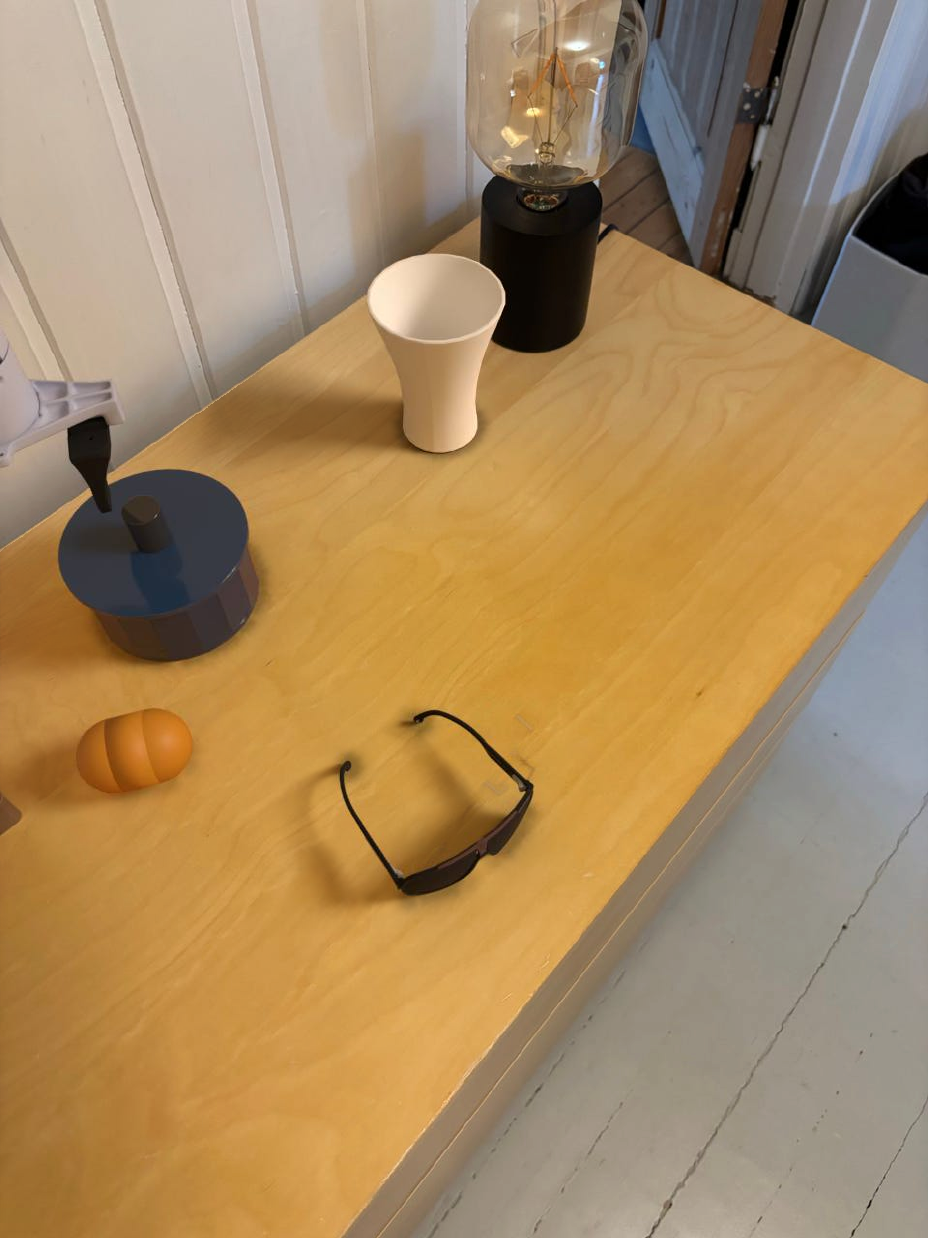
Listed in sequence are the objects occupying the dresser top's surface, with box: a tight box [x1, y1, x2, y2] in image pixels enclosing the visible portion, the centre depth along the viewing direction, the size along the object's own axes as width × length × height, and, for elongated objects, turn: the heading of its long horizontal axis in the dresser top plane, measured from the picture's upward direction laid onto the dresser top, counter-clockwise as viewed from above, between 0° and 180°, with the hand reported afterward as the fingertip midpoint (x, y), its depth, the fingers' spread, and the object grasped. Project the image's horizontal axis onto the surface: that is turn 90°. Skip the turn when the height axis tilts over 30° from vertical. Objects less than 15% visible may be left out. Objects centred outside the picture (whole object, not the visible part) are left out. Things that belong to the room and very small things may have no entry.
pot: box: [88, 541, 260, 663], centre depth 69 cm, size 12×12×6 cm
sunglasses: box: [339, 709, 535, 897], centre depth 61 cm, size 10×12×5 cm
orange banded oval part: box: [75, 707, 194, 795], centre depth 62 cm, size 7×5×5 cm
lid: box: [57, 468, 250, 621], centre depth 65 cm, size 13×13×4 cm
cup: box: [365, 253, 506, 453], centre depth 76 cm, size 10×10×14 cm
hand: (47, 513), depth 63 cm, fingers open, 7 cm apart
